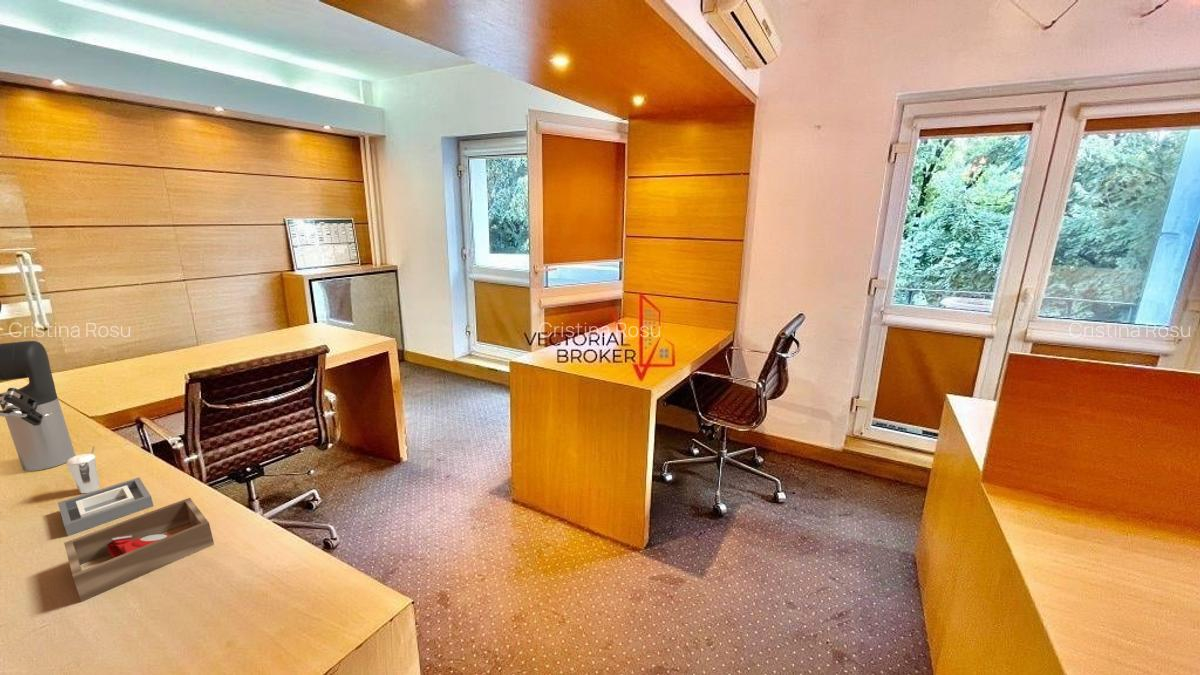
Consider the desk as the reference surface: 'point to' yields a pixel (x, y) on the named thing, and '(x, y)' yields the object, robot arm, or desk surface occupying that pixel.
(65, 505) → the dock box
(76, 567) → the tray
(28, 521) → the desk surface
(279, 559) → the desk surface
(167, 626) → the desk surface
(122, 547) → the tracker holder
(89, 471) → the milkshake
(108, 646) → the desk surface
